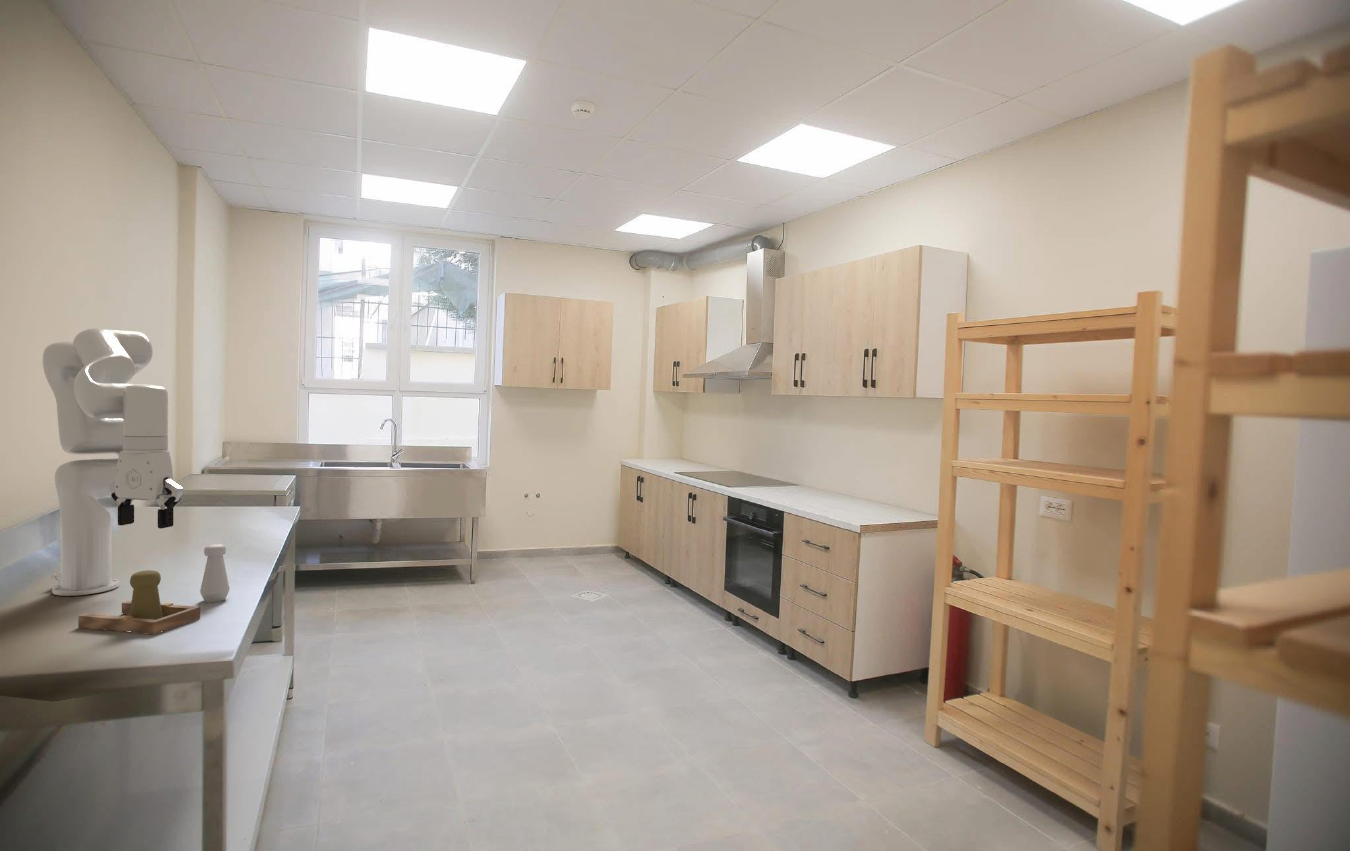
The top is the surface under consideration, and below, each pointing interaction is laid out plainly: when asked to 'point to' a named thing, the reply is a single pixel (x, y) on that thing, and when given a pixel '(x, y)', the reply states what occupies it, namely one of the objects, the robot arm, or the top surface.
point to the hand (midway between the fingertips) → (145, 525)
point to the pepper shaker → (145, 595)
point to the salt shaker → (215, 575)
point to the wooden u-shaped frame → (170, 613)
